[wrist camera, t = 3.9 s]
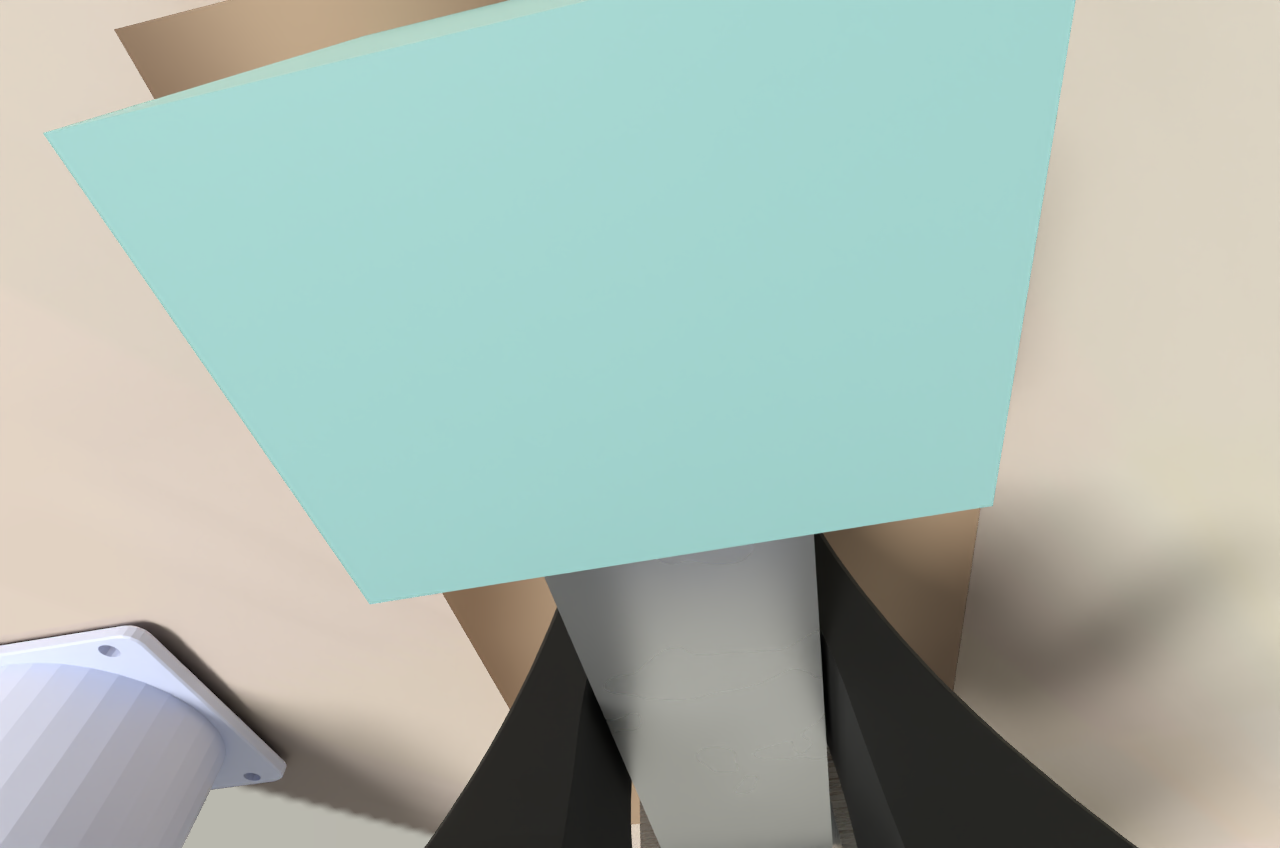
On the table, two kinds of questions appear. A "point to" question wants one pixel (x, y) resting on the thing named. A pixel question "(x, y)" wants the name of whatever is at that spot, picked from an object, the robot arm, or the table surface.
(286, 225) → the teal socket block
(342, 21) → the walnut board
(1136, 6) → the table surface
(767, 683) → the grey rectangular bar
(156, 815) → the robot arm
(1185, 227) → the table surface
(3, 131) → the table surface
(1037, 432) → the table surface
